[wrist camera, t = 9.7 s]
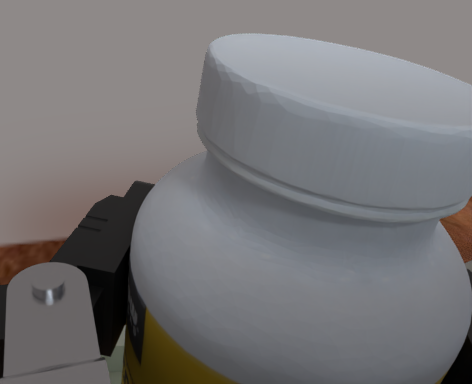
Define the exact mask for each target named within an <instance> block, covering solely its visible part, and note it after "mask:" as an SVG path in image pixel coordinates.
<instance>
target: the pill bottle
mask: <svg viewBox="0 0 472 384" xmlns="http://www.w3.org/2000/svg"><path fill="white" fill-rule="evenodd" d="M196 115H197V120H198V123H197V132H198V135H199V137H200V139H201V141H202V143H203V144H204V146H205V147H206V149H207V151H205V152H202V153H199V154H197V155H195V156H192V157H190V158H188V159H187V160H185V161H183V162H181V163H180V164H178V165H177V166H175V167H174V168H173V169H171V170H170V171H169V172H168V173H167V174H166V175H164V176H163V177H162V178H161V179H160V180H159V181H158V182H157V183H156V185H155V186H154V187H153V188H152V189H151V191H150V192H149V193H148V195H147V196H146V198H145V199H144V201H143V203H142V205H141V207H140V209H139V211H138V214H137V217H136V220H135V224H134V228H133V233H132V240H131V247H130V257H129V274H128V290H127V308H126V328H125V343H124V354H123V369H122V379H121V384H440V383H441V382H442V380H443V378H444V377H445V375H446V374H447V372H448V370H449V369H450V367H451V365H452V364H453V362H454V361H455V359H456V357H457V355H458V353H459V351H460V350H461V348H462V346H463V344H464V341H465V339H466V336H467V333H468V330H469V326H470V323H471V315H472V289H471V284H470V279H469V275H468V272H467V269H466V266H465V264H464V262H463V260H462V257H461V255H460V253H459V251H458V249H457V247H456V246H455V244H454V242H453V241H452V239H451V237H450V236H449V234H448V233H447V231H446V230H445V228H444V227H443V226H442V224H441V223H440V221H439V220H440V218H444V217H447V216H450V215H452V214H455V213H457V212H458V211H460V210H461V209H462V208H464V207H465V205H466V204H467V202H468V200H469V198H470V197H471V196H472V85H470V84H468V83H465V82H463V81H460V80H458V79H456V78H453V77H451V76H449V75H446V74H443V73H441V72H438V71H436V70H433V69H430V68H427V67H424V66H421V65H418V64H415V63H412V62H408V61H405V60H402V59H399V58H395V57H391V56H388V55H384V54H380V53H376V52H372V51H368V50H363V49H358V48H354V47H349V46H344V45H340V44H335V43H330V42H325V41H319V40H313V39H307V38H299V37H292V36H283V35H270V34H233V35H227V36H223V37H220V38H218V39H216V40H214V41H213V42H212V43H211V44H210V45H209V47H208V49H207V52H206V56H205V61H204V67H203V73H202V79H201V85H200V92H199V98H198V104H197V110H196Z"/></svg>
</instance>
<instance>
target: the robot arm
mask: <svg viewBox="0 0 472 384" xmlns="http://www.w3.org/2000/svg"><path fill="white" fill-rule="evenodd" d="M154 186H155V184H150V183H145V182H141V181H135V182H134V183H133V184H132V186H131V187H130V189H129V190H128V192H127V193H126V195H125V196H124V197H118V196H114V195H110V196H108V197H106V198H105V199H103V200H101V201H99V202H97V203H95V205H94V206H93V207H92V208H91V209H90V211H89V212H88V213H87V215H86V217H85V218H83V220H82V221H81V222H80V224H79V225H78V228H76V229H75V230H74V231H73V232H72V234H71V235H70V236H69V238H68V239H67V240H66V241H65V243H64V244H63V245H62V246H61V248H60V249H59V250H58V252H57V253H56V254H55V255H54V257H53V258H52V259H51V260H50V262H49V263H41V264H37V265H34V266H31V267H28V268H26V269H24V270H22V271H21V272H20V273H18V274H17V275H16V276H15V277H14V278H13V279H12V280H11V281H10V283H9V284H7V285H0V384H111V382H110V377H109V371H108V366H107V362H106V359H105V357H102V358H101V356H100V355H104V356H108V357H111V355H112V353H113V351H114V348H115V346H116V344H117V342H118V340H119V337H120V335H121V333H122V331H123V328H124V326H125V324H126V308H127V290H128V274H129V257H130V247H131V240H132V233H133V228H134V224H135V220H136V217H137V214H138V211H139V209H140V207H141V205H142V203H143V201H144V199H145V198H146V196H147V195H148V193H149V192H150V191H151V189H152V188H153V187H154ZM467 272H468V275H469V279H470V284H471V289H472V272H471V271H470V270H469V269H467ZM440 384H472V315H471V323H470V326H469V330H468V333H467V336H466V339H465V341H464V344H463V346H462V348H461V350H460V351H459V353H458V355H457V357H456V359H455V361H454V362H453V364H452V365H451V367H450V369H449V370H448V372H447V374H446V375H445V377H444V378H443V380H442V382H441V383H440Z"/></svg>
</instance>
